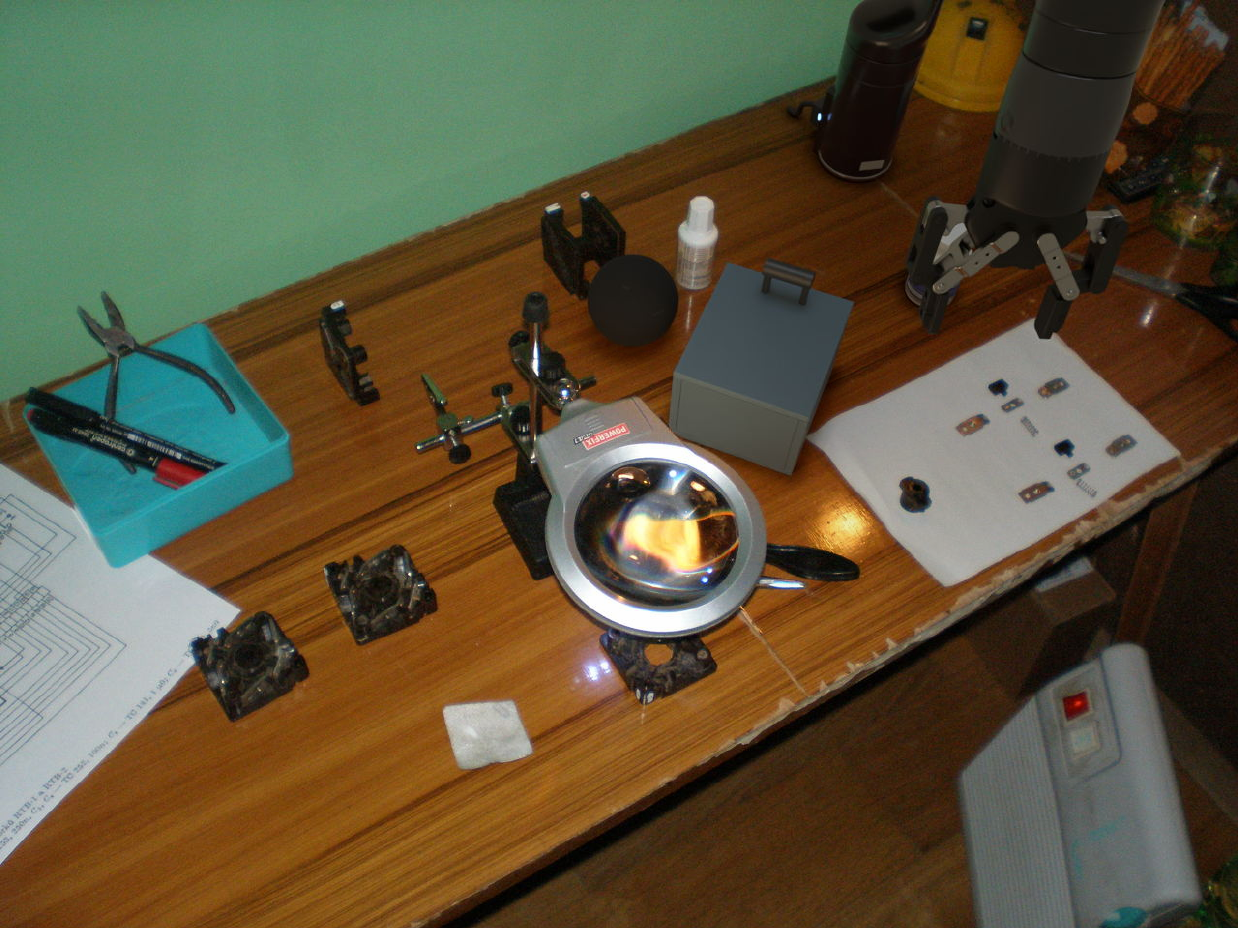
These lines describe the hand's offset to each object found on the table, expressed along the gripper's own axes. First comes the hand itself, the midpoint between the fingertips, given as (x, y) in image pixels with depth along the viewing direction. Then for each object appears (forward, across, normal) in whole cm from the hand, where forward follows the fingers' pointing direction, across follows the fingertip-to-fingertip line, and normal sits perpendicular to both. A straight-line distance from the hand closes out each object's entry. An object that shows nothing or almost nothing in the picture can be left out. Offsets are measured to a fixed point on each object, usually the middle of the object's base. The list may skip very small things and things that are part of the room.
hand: (985, 330), depth 76 cm
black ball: (+22, +27, -29) cm, 46 cm away
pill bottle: (+20, -7, -36) cm, 42 cm away
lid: (+14, +14, -18) cm, 27 cm away
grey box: (+24, +14, -20) cm, 34 cm away
